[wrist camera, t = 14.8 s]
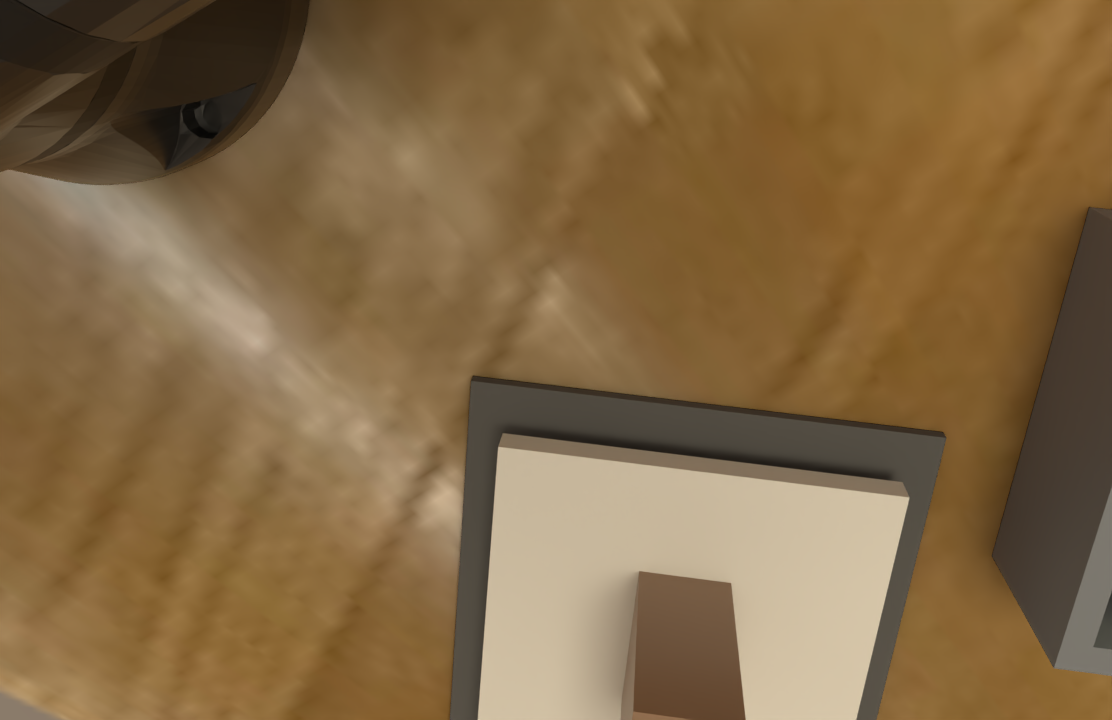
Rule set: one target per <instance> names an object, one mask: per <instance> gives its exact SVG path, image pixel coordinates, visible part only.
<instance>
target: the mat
mask: <svg viewBox="0 0 1112 720" xmlns="http://www.w3.org/2000/svg"><path fill="white" fill-rule="evenodd" d="M503 433H506V434H514V435H522V436H531V437H539V438H547V439H555V440H563V441H571V442H579V443H588V444H596V445H604V446H612V447H620V448H628V449H637V450H645V451H653V452H661V453H669V454H677V455H685V456H694V457H702V458H710V459H718V460H726V461H734V462H742V463H751V464H759V465H767V466H775V467H783V468H791V469H800V470H808V471H816V472H824V473H832V474H840V475H848V476H857V477H865V478H873V479H881V480H889V481H897V482H903V484H904V487H905V489H906V491H907V493H908V495H909V497H910V498H909V502H908V506H907V510H906V514H905V519H904V523H903V527H902V531H901V535H900V539H899V544H898V548H897V552H896V556H895V560H894V564H893V569H892V573H891V577H890V581H889V585H888V589H887V594H886V598H885V602H884V606H883V610H882V614H881V619H880V623H879V627H878V631H877V635H876V639H875V644H874V648H873V652H872V656H871V660H870V664H869V669H868V673H867V677H866V681H865V685H864V689H863V694H862V698H861V702H860V706H859V710H858V714H857V719H856V720H876V719H877V715H878V711H879V707H880V703H881V699H882V695H883V691H884V687H885V683H886V679H887V675H888V671H889V667H890V663H891V659H892V654H893V650H894V646H895V642H896V638H897V634H898V630H899V626H900V622H901V618H902V614H903V610H904V606H905V602H906V598H907V594H908V590H909V586H910V582H911V578H912V574H913V570H914V566H915V562H916V558H917V554H918V550H919V546H920V542H921V538H922V534H923V530H924V526H925V522H926V518H927V514H928V510H929V506H930V502H931V498H932V494H933V490H934V486H935V482H936V478H937V474H938V470H939V466H940V462H941V457H942V453H943V449H944V445H945V441H946V436H945V435H944V433H943V432H937V431H928V430H920V429H911V428H903V427H895V426H886V425H878V424H870V423H861V422H853V421H845V420H836V419H828V418H819V417H811V416H803V415H794V414H786V413H778V412H769V411H761V410H752V409H744V408H736V407H727V406H719V405H711V404H702V403H694V402H686V401H677V400H669V399H660V398H652V397H644V396H635V395H627V394H619V393H610V392H602V391H594V390H585V389H577V388H568V387H560V386H552V385H543V384H535V383H527V382H518V381H510V380H501V379H493V378H485V377H476V376H473V378H472V380H471V392H470V408H469V424H468V440H467V456H466V472H465V488H464V504H463V520H462V536H461V552H460V567H459V583H458V599H457V615H456V631H455V647H454V663H453V679H452V695H451V711H450V720H478V709H479V696H480V682H481V669H482V656H483V642H484V629H485V616H486V602H487V589H488V576H489V562H490V549H491V536H492V522H493V509H494V496H495V482H496V469H497V456H498V446H499V443H500V440H501V437H502V434H503Z"/></svg>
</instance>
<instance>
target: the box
mask: <svg viewBox="0 0 1112 720" xmlns="http://www.w3.org/2000/svg"><path fill="white" fill-rule="evenodd" d="M992 557H993V559H994V561H995V562H996V564H997V566H998V568H999V570H1000V572H1001V573H1002V575H1003V577H1004V579H1005V581H1006V582H1007V584H1008V586H1009V588H1010V590H1011V591H1012V593H1013V595H1014V597H1015V599H1016V600H1017V602H1018V604H1019V606H1020V608H1021V609H1022V611H1023V613H1024V615H1025V617H1026V619H1027V620H1028V622H1029V624H1030V626H1031V628H1032V629H1033V631H1034V633H1035V635H1036V637H1037V638H1038V640H1039V642H1040V644H1041V646H1042V647H1043V649H1044V651H1045V653H1046V655H1047V656H1048V658H1049V660H1050V662H1051V664H1052V666H1053V667H1054V668H1057V669H1064V670H1072V671H1079V672H1087V673H1095V674H1102V675H1110V676H1112V210H1110V209H1101V208H1091V207H1089V210H1088V214H1087V218H1086V221H1085V225H1084V228H1083V232H1082V235H1081V239H1080V243H1079V246H1078V250H1077V253H1076V257H1075V260H1074V264H1073V268H1072V271H1071V275H1070V278H1069V282H1068V286H1067V289H1066V293H1065V296H1064V300H1063V303H1062V307H1061V311H1060V314H1059V318H1058V321H1057V325H1056V329H1055V332H1054V336H1053V339H1052V343H1051V346H1050V350H1049V354H1048V357H1047V361H1046V364H1045V368H1044V372H1043V375H1042V379H1041V382H1040V386H1039V389H1038V393H1037V397H1036V400H1035V404H1034V407H1033V411H1032V414H1031V418H1030V422H1029V425H1028V429H1027V432H1026V436H1025V440H1024V443H1023V447H1022V450H1021V454H1020V457H1019V461H1018V465H1017V468H1016V472H1015V475H1014V479H1013V483H1012V486H1011V490H1010V493H1009V497H1008V500H1007V504H1006V508H1005V511H1004V515H1003V518H1002V522H1001V526H1000V529H999V533H998V536H997V540H996V543H995V547H994V551H993V554H992Z"/></svg>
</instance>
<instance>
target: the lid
mask: <svg viewBox="0 0 1112 720" xmlns="http://www.w3.org/2000/svg"><path fill="white" fill-rule="evenodd" d="M909 498H910V497H909V495H908V493H907V491H906V489H905V487H904V484H903V482H897V481H889V480H881V479H873V478H865V477H857V476H848V475H840V474H832V473H824V472H816V471H808V470H800V469H791V468H783V467H775V466H767V465H759V464H751V463H742V462H734V461H726V460H718V459H710V458H702V457H694V456H685V455H677V454H669V453H661V452H653V451H645V450H637V449H628V448H620V447H612V446H604V445H596V444H588V443H579V442H571V441H563V440H555V439H547V438H539V437H531V436H522V435H514V434H506V433H503V434H502V437H501V440H500V443H499V446H498V456H497V469H496V482H495V496H494V509H493V522H492V536H491V549H490V562H489V576H488V589H487V602H486V616H485V629H484V642H483V656H482V669H481V682H480V696H479V709H478V720H856V719H857V714H858V710H859V706H860V702H861V698H862V694H863V689H864V685H865V681H866V677H867V673H868V669H869V664H870V660H871V656H872V652H873V648H874V644H875V639H876V635H877V631H878V627H879V623H880V619H881V614H882V610H883V606H884V602H885V598H886V594H887V589H888V585H889V581H890V577H891V573H892V569H893V564H894V560H895V556H896V552H897V548H898V544H899V539H900V535H901V531H902V527H903V523H904V519H905V514H906V510H907V506H908V502H909Z"/></svg>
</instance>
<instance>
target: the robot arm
mask: <svg viewBox="0 0 1112 720" xmlns="http://www.w3.org/2000/svg"><path fill="white" fill-rule="evenodd" d="M308 6H309V0H0V172H2V171H5V170H8V169H9V170H14V171H18V172H23V173H28V174H32V175H37V176H42V177H47V178H51V179H56V180H61V181H65V182H72V183H79V184H90V185H115V184H127V183H136V182H142V181H147V180H151V179H155V178H159V177H163V176H165V175H168V174H171V173H174V172H177V171H179V170H182V169H184V168H186V167H189V166H191V165H194V164H196V163H198V162H201V161H203V160H205V159H207V158H209V157H211V156H213V155H215V154H217V153H219V152H220V151H222V150H224V149H225V148H227V147H228V146H230V145H231V144H233V143H234V142H235V141H237V140H238V139H239V138H240V137H242V136H243V135H244V134H245V133H246V132H247V131H248V130H249V129H251V128H252V127H253V126H254V125H255V124H256V123H257V122H258V120H259V119H260V118H261V117H262V116H263V115H264V114H265V112H266V111H267V110H268V108H269V107H270V106H271V104H272V103H273V102H274V100H275V99H276V97H277V96H278V94H279V92H280V91H281V89H282V88H283V86H284V84H285V82H286V80H287V78H288V76H289V74H290V72H291V70H292V67H293V65H294V62H295V60H296V57H297V54H298V51H299V48H300V45H301V42H302V38H303V34H304V30H305V25H306V20H307V14H308Z"/></svg>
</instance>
